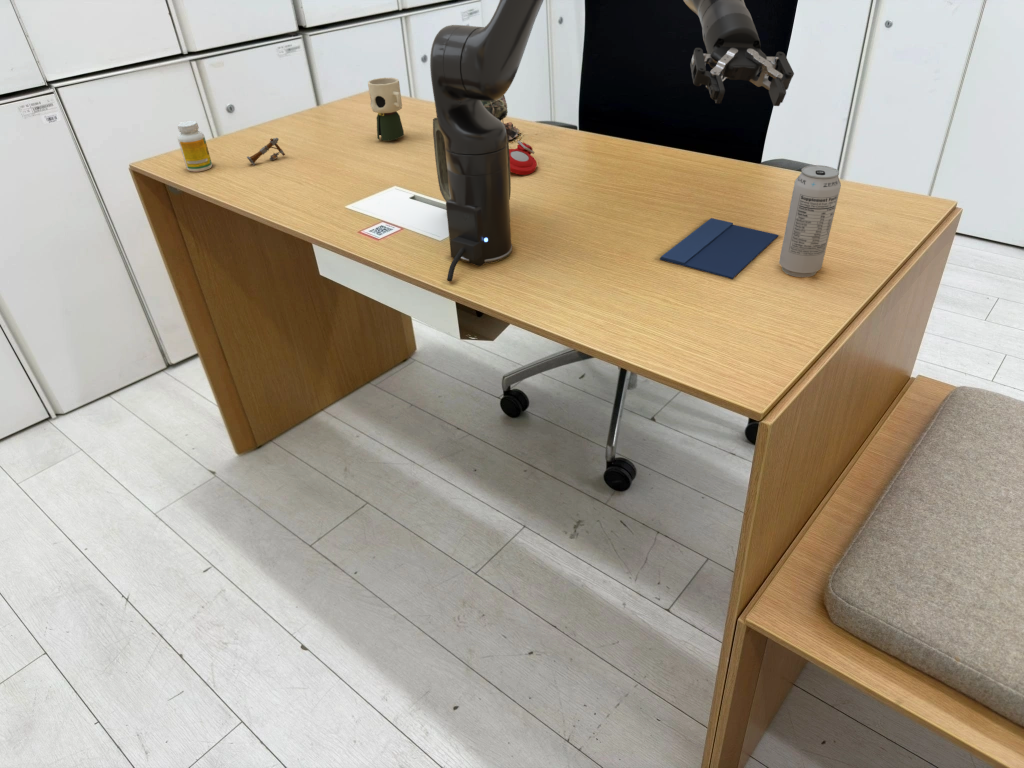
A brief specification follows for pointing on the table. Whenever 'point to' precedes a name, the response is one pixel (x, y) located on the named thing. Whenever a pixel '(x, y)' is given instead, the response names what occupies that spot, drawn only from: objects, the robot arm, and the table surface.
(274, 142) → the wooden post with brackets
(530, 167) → the tracker holder
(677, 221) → the table surface
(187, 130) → the supplement bottle
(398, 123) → the character mug
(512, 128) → the plant with pod
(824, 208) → the energy drink can
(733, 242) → the open blue folder
